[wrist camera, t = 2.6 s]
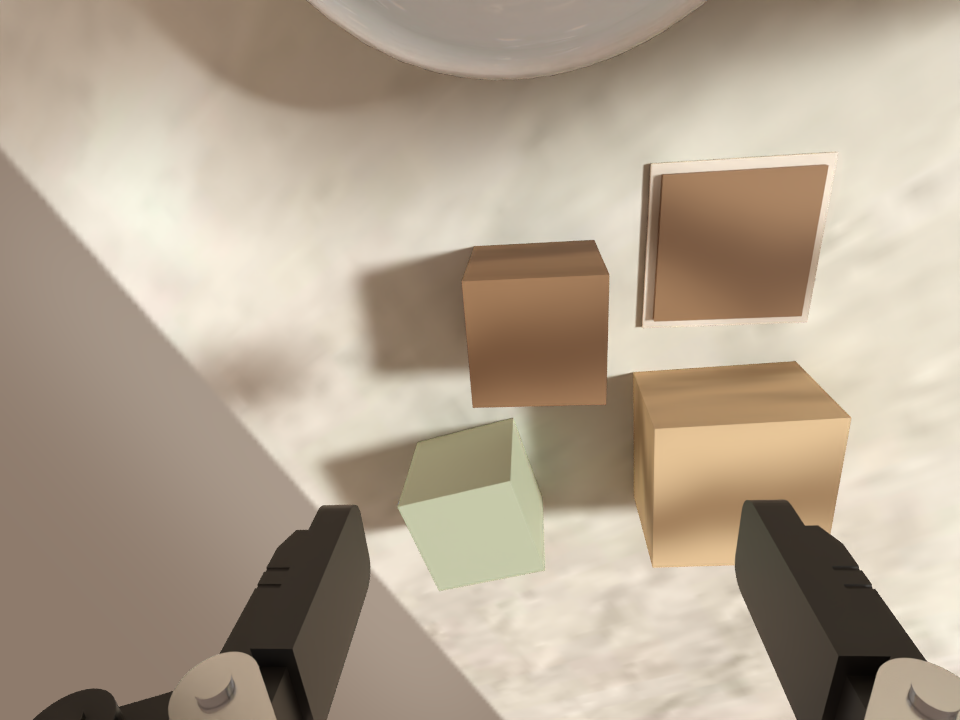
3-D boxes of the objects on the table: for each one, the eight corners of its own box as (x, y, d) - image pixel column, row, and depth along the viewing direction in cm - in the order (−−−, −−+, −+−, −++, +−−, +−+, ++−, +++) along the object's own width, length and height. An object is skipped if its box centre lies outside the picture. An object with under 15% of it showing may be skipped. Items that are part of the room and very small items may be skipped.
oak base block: (632, 370, 26) (654, 428, 22) (793, 359, 25) (851, 417, 21) (633, 493, 29) (652, 567, 25) (777, 487, 28) (825, 562, 24)
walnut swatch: (650, 163, 22) (653, 164, 22) (835, 151, 22) (842, 153, 21) (641, 326, 25) (643, 330, 25) (804, 320, 24) (810, 324, 24)
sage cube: (417, 441, 29) (397, 507, 24) (513, 417, 28) (510, 480, 23) (452, 517, 31) (439, 591, 26) (542, 497, 30) (545, 570, 25)
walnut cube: (474, 245, 24) (461, 281, 20) (593, 239, 24) (609, 274, 19) (482, 353, 26) (472, 407, 22) (592, 349, 26) (606, 404, 21)
